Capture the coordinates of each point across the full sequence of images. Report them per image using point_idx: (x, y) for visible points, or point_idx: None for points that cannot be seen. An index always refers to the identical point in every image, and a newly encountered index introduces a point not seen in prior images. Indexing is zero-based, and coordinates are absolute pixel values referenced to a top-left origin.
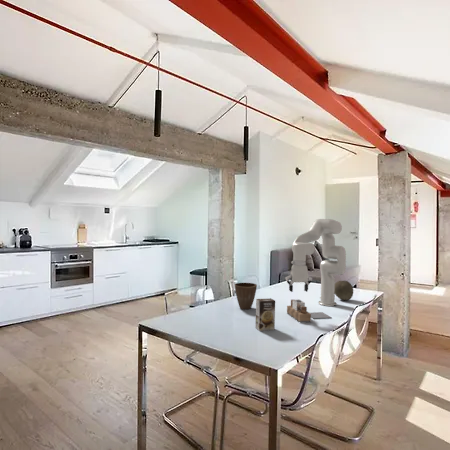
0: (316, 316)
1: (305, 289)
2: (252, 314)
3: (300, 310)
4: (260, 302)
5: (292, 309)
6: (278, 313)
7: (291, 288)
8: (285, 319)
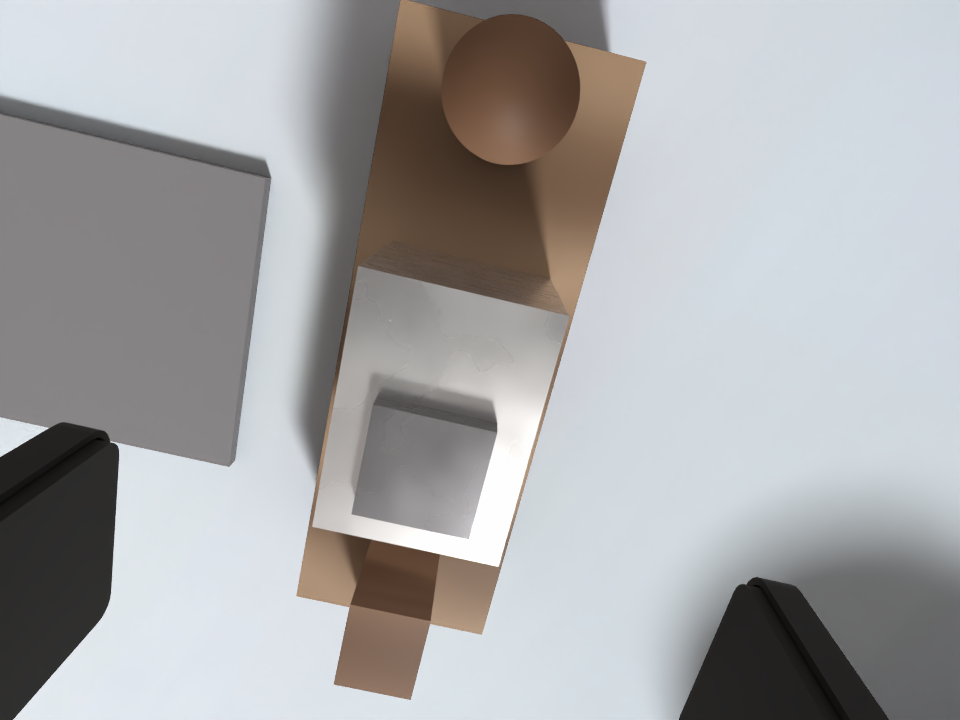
0: (162, 238)
1: (68, 564)
2: (948, 666)
3: (477, 262)
4: None
5: (544, 415)
6: (594, 594)
7: (849, 711)
8: (696, 321)
